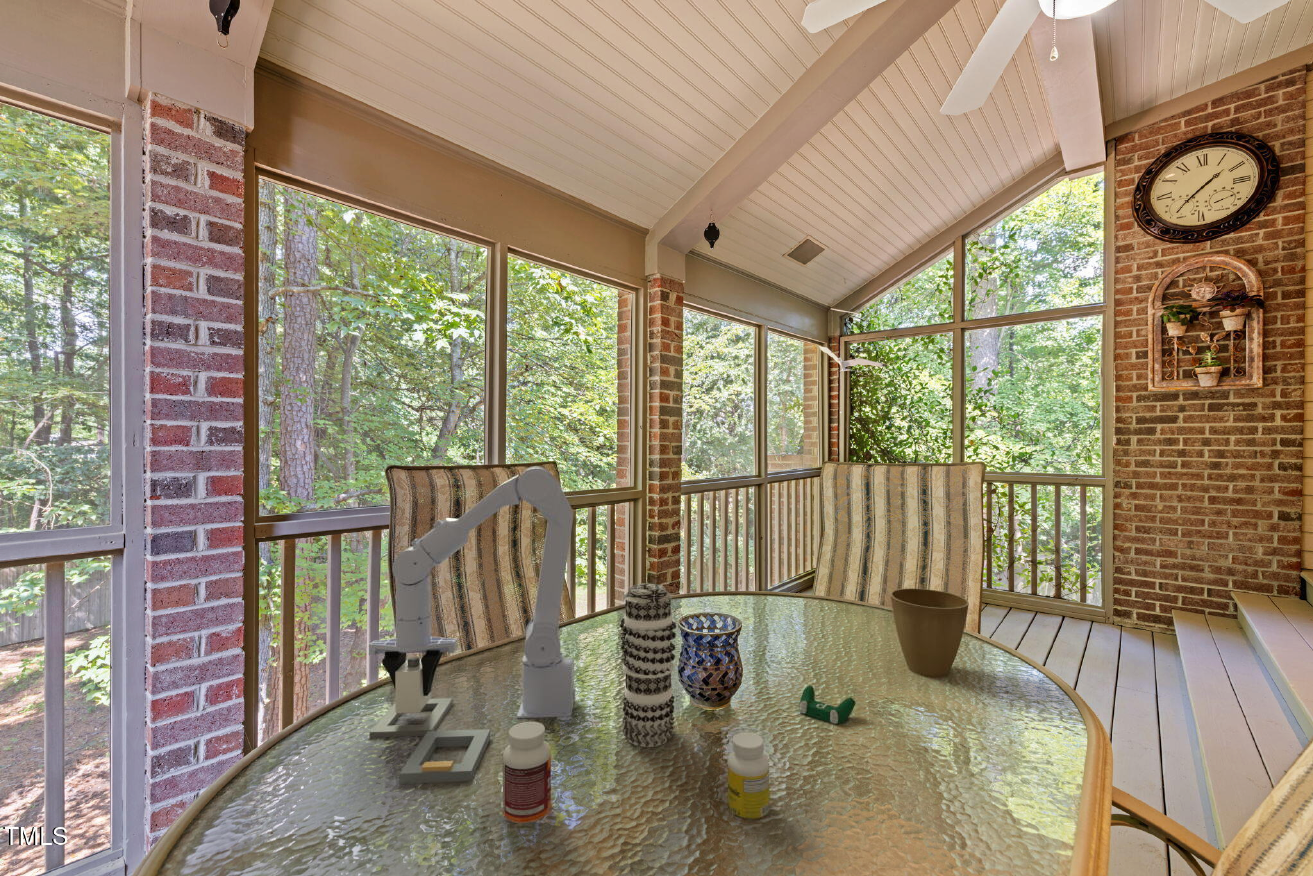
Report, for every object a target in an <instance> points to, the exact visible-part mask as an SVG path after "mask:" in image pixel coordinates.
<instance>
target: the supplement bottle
mask: <svg viewBox="0 0 1313 876" xmlns="http://www.w3.org/2000/svg"><path fill="white" fill-rule="evenodd" d="M727 790H728V791H727V804H728V805H727V807H728V810H729V811H730V812H731V813H732V815H734V816H735V817H737V818H740V819H743V820H749V821H750V820H751V821H752V820H753V821H756V820H760V819H762V818H765V817H766V816H767V815H768V814H769V813H770V811H771V810H770V806H771V803H770V802H771V801H770V799H771V798H770V762H769V759H768V757H767V756H766V754H765V753H764V740H763V738H762V736H760V735H759V734H757V733H754V732H747V731H746V732H745V731H744V732H739V733H736V734H735V735H734V736H733V737H732V752H731V753H730V754H729V755H728V757H727Z"/></svg>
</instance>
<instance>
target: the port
mask: <svg viewBox="0 0 1313 876" xmlns="http://www.w3.org/2000/svg"><path fill="white" fill-rule="evenodd" d="M490 741H491V729H490V728H489V729H487V728H486V729H455V730H435V731H427V733H426V734H425V736H422V739H421V740H420V742H419V744H418V745H417V747H416V748H415V750H414V751H413V752H412V754H411V755H410V757H409V759H408V760H407V762H406V763H405V765H404V766H403V767H402V769H401V770H400V772H399V775H398V776H399V777H398V778H399V781H398V782H399V785H404V784H405V785H407V784H425V783H426V784H427V783H428V784H429V783H430V784H431V783H432V784H433V783H449V782H450V783H453V782H455V783H456V782H472V780H473V778H474V776H475V775H476V771H477V769H478V767H479V765H480V763H481V760H482V758H483V756H484V753H486V750H487V747H488V745H489V743H490ZM448 747H449V748H450V747H451V748H452V747H453V748H455V747H456V748H457V747H468V748H467V750H466V752H465V754H464V757H463V759H462V761H461V763H454V760H444V761H443V760H442V761H440V760H439V761H429V760H430V758H431V757H432V755H433V754H434V752H435V750H436V749H437V748H448Z"/></svg>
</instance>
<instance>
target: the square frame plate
mask: <svg viewBox="0 0 1313 876" xmlns="http://www.w3.org/2000/svg"><path fill="white" fill-rule="evenodd" d="M453 700H454V698H453V697H448V698H445V697H444V698H442V697H441V698H430V699H429V701H428V702H427V703H426V705H425V706H424V707H423V709H422V710H423V711H424V710H432V712H431V713H430V714H429V716H428V718H427V719H426V720H425V722H424V723H423V724H406V725H405V724H404V725H399V724H398V725H394V724H395V722H396V721H397V720H398V719H399V718H400V716H401V715H402V714H403V713H396V701H395V702H394V703H393V704H392V705H391V707H390V708H389V709H388V710H387V711H386V712H385V714H384V715H383V716H382V717H380V719H379V720H378V721H377V723H376V724H375V725H374V727H372V729H371V730H370V731H369V738H370V739H374V738H375V739H377V738H378V739H379V738H401V737H424V736H425V734H426V733H427V731H437V730H436V729H437V728H438V727H439V725H440V723H441V722H442V721H443V719H444V718H445V716H446V714H447V713H448V712H449V710H450V709H451V707H452V706H453V704H454V703H453V702H454V701H453ZM422 710H421V711H422Z"/></svg>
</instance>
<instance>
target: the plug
mask: <svg viewBox="0 0 1313 876" xmlns="http://www.w3.org/2000/svg"><path fill="white" fill-rule="evenodd" d="M395 691H396V693H395V702H396V713H402V714H413V713H415V714H417V713H421V711H422V709H423V707H424V706H425V705H426V703H427V702H428V701H429V699H432V691H431V692H430V693H429V694H428V696H424V695H423V670H422V664H421V658H420V657H418V656H414V657H413V656H412V657H409V658H408V659H406V661H405V663H404V664H403V665H402V666H401V667H400V668H399V669H398V670H397V671H396V672H395V689H394V692H395Z"/></svg>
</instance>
